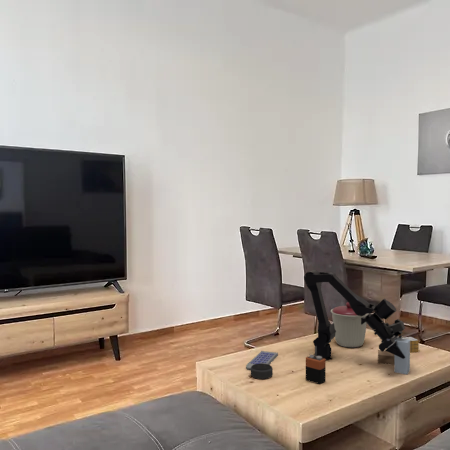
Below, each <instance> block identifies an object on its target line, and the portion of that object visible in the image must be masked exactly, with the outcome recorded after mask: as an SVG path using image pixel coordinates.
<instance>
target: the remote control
mask: <svg viewBox="0 0 450 450" xmlns="http://www.w3.org/2000/svg"><path fill="white" fill-rule="evenodd" d="M278 356H279V352H273V351H264V350H261V351H260V352H258V353H257V354H256V356H254V358H252V359H251V360H250V361H248V363H247V364H246V366H245V369H246V371H250V372H251V366H252V365H254V364H259V363H264V364H268V365H270V366H271V364H272V363H271V362H274V361H275V359H277V357H278Z"/></svg>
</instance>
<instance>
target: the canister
mask: <svg viewBox="0 0 450 450" xmlns="http://www.w3.org/2000/svg"><path fill="white" fill-rule="evenodd" d="M330 313H331V314H332V315H331V316H332V324H333V323H334V327H335V330H336V333H335V337H334V340H335V343H336V344H338V345H339V346H341V347H344V348H359V347H362V345H363V344H364V342H365V341H366V340H365V339H366V332H367V325H368V324H367V323H366V322H365V323H364V324H362V325H361V318H362V317H366V316H367V315H368V314H370V313H368V314H365V315H364V316H358V315H356V314H355V312H354V311H353V310H352V308H351V307H350V304H349V303H348V301H347V302H345V305H339V306H336V307H333V308H332V309H331V310H330Z"/></svg>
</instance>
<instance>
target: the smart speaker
mask: <svg viewBox="0 0 450 450" xmlns="http://www.w3.org/2000/svg"><path fill="white" fill-rule="evenodd" d="M273 370H274V369H273V366H271V364H270V365H268V364H264V363H259V364H254V365H252V366H251V371H250V375H251V377H252V378H254V379H256V380H257V379H258V380H267V379H270V378H272V377H273V374H274V372H273Z"/></svg>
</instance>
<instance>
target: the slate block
mask: <svg viewBox="0 0 450 450" xmlns="http://www.w3.org/2000/svg"><path fill="white" fill-rule="evenodd" d="M396 341H397V346H398V347H399V349H400V350H401V351H402V353H403V354H404V356H405V358H404V359H402V358H400V357H398V356H396V355H395V363H394V365H393V366H394V373H396V374H397V373H398V374H403V375H408V374H409V373H410V370H411V369H410V368H411V364H410V363H411V361H410V360H411V353H410V340H409V339H401V338H397V339H396V340H395V342H396Z"/></svg>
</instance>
